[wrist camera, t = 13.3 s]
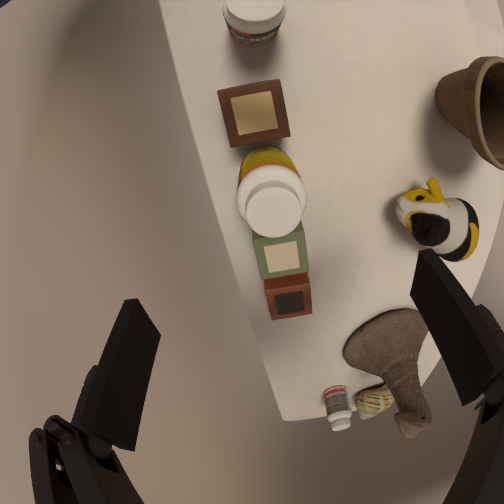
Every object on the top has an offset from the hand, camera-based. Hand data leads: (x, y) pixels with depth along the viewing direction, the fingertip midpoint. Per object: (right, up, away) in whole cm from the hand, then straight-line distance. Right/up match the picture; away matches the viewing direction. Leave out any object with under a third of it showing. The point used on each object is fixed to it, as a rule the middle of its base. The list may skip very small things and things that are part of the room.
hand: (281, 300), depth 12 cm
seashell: (+28, -31, +44) cm, 61 cm away
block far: (+2, +4, +19) cm, 20 cm away
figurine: (+21, +8, +18) cm, 29 cm away
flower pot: (+22, +20, +9) cm, 31 cm away
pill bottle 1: (-1, +23, +7) cm, 25 cm away
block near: (-1, +16, +12) cm, 20 cm away
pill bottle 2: (+18, -29, +42) cm, 54 cm away
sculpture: (+23, -13, +32) cm, 42 cm away
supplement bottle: (0, +11, +16) cm, 19 cm away
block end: (+3, -1, +23) cm, 23 cm away
